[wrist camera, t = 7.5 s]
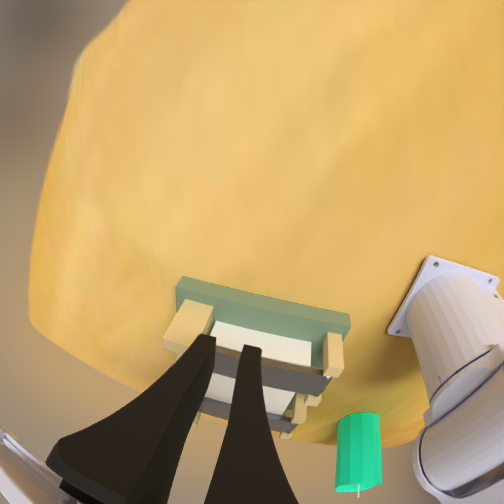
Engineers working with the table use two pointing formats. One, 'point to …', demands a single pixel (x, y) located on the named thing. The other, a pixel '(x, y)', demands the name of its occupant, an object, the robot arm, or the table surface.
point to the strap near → (275, 373)
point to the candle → (358, 453)
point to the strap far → (223, 412)
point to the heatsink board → (267, 314)
